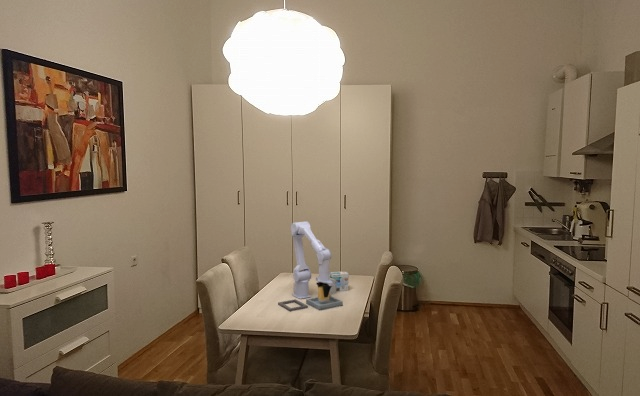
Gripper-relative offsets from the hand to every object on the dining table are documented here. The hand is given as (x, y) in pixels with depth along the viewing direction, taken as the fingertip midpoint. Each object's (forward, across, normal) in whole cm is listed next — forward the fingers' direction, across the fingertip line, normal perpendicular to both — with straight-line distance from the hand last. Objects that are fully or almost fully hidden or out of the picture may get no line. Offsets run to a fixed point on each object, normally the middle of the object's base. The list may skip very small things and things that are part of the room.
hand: (324, 295), depth 247 cm
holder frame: (+5, -7, -16) cm, 18 cm away
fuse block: (+2, 0, 0) cm, 3 cm away
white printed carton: (+5, -20, +24) cm, 31 cm away
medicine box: (+5, -16, +14) cm, 22 cm away
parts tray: (+5, 0, 0) cm, 5 cm away
